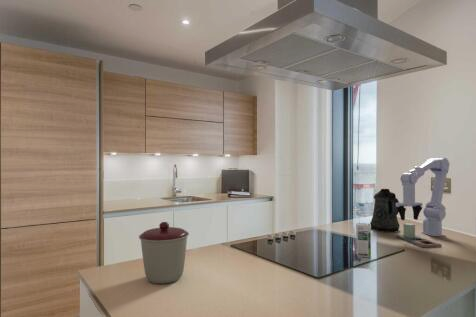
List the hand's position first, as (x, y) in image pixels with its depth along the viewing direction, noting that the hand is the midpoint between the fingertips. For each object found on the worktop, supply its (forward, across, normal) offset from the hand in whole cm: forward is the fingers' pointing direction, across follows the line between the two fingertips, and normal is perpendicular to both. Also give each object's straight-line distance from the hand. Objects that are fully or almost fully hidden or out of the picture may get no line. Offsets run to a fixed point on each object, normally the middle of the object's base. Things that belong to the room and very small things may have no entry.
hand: (409, 219), depth 173 cm
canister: (+11, -127, -39) cm, 133 cm away
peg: (+10, 0, 0) cm, 10 cm away
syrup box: (+11, -40, -24) cm, 48 cm away
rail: (+10, 0, -6) cm, 12 cm away
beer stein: (+11, +1, +22) cm, 24 cm away
